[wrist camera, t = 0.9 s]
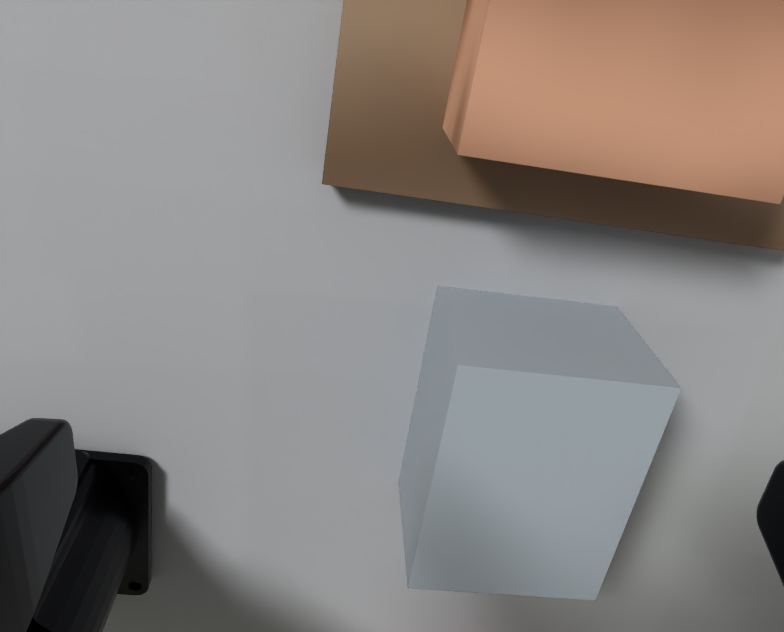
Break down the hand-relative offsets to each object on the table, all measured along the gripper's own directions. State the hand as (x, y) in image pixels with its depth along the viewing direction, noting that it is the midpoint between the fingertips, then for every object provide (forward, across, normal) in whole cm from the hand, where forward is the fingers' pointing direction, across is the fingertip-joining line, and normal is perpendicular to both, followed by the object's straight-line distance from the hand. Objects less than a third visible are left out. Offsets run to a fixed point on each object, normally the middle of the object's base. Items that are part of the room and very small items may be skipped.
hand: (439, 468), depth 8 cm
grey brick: (+13, -5, +7) cm, 15 cm away
